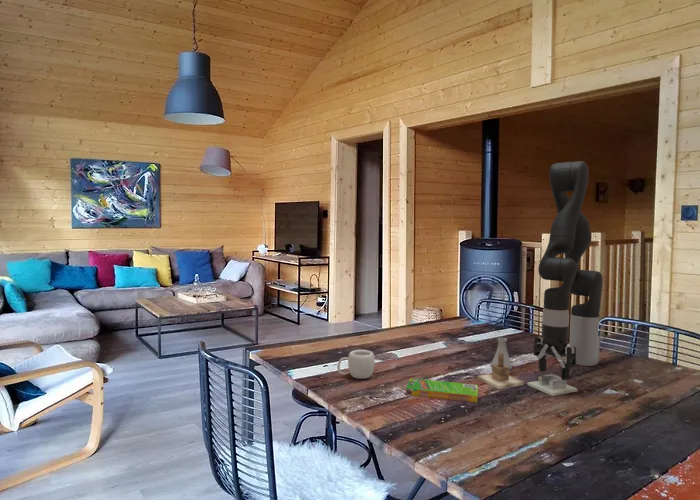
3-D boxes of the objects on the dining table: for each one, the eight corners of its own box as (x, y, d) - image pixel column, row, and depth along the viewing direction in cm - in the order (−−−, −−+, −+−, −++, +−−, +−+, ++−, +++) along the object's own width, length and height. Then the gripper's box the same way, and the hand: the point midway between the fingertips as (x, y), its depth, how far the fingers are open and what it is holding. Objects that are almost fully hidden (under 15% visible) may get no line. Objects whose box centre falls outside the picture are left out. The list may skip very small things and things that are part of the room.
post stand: (501, 375, 166) (502, 348, 166) (523, 384, 157) (525, 356, 157) (477, 379, 162) (478, 351, 162) (498, 389, 153) (499, 360, 152)
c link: (551, 381, 158) (552, 373, 158) (566, 387, 153) (566, 379, 153) (538, 383, 156) (538, 375, 156) (552, 389, 151) (552, 381, 151)
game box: (476, 406, 143) (404, 395, 148) (477, 394, 152) (409, 384, 157) (477, 395, 142) (405, 384, 147) (478, 384, 152) (410, 374, 157)
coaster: (551, 380, 161) (551, 378, 161) (577, 391, 152) (577, 388, 152) (527, 384, 157) (527, 382, 157) (552, 395, 148) (552, 393, 148)
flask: (513, 371, 171) (514, 342, 170) (491, 369, 172) (492, 340, 172) (511, 364, 178) (512, 336, 177) (489, 363, 180) (490, 335, 179)
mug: (371, 371, 168) (372, 348, 167) (376, 380, 160) (377, 355, 159) (335, 373, 166) (336, 349, 166) (338, 381, 158) (339, 357, 157)
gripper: (584, 327, 148) (581, 380, 150) (546, 317, 161) (544, 366, 163) (565, 329, 145) (562, 384, 147) (528, 319, 158) (526, 369, 160)
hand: (553, 375), depth 155 cm, fingers open, 8 cm apart
